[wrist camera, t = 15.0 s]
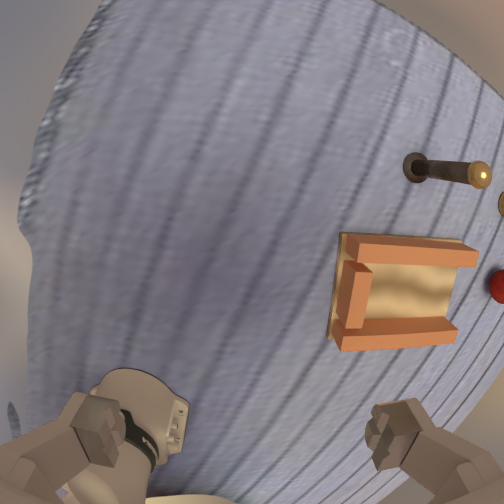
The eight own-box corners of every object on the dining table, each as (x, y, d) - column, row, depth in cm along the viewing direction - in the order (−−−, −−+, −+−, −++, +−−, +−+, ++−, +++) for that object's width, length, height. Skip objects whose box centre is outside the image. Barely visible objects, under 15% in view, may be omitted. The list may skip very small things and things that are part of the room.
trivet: (437, 328, 47) (440, 331, 46) (326, 335, 47) (328, 339, 45) (458, 238, 43) (462, 240, 42) (339, 231, 42) (342, 233, 41)
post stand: (426, 184, 41) (499, 200, 25) (401, 180, 40) (472, 194, 25) (428, 154, 39) (502, 158, 24) (403, 150, 39) (475, 150, 24)
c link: (331, 333, 45) (340, 351, 40) (347, 233, 41) (359, 243, 36) (439, 328, 46) (453, 343, 41) (460, 242, 42) (479, 251, 37)
